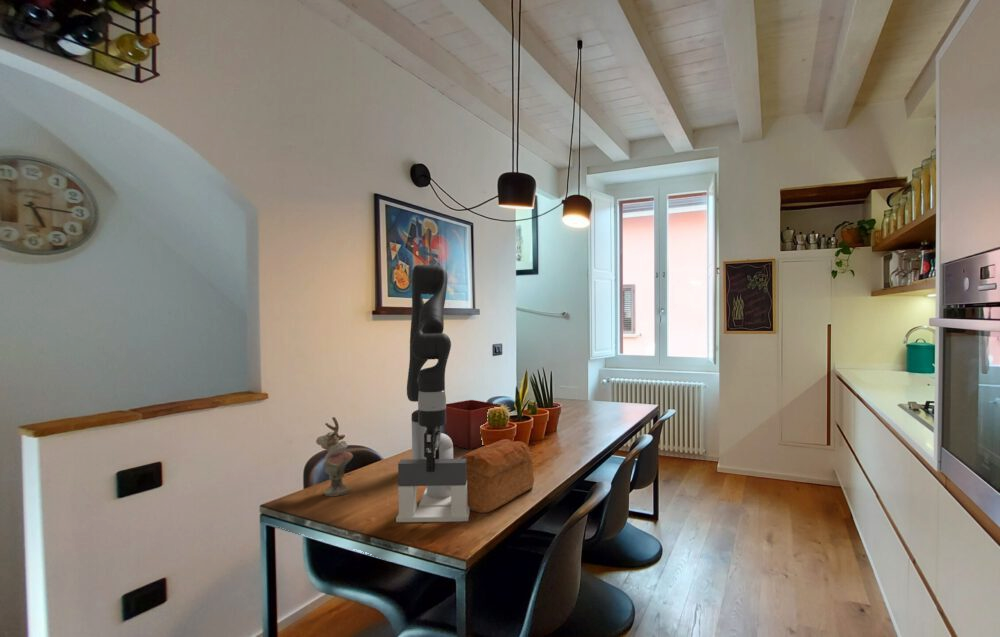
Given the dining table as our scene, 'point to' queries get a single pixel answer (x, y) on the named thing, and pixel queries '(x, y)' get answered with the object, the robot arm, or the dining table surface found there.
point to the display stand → (435, 497)
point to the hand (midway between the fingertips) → (433, 466)
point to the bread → (498, 474)
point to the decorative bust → (335, 459)
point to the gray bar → (444, 474)
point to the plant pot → (466, 422)
